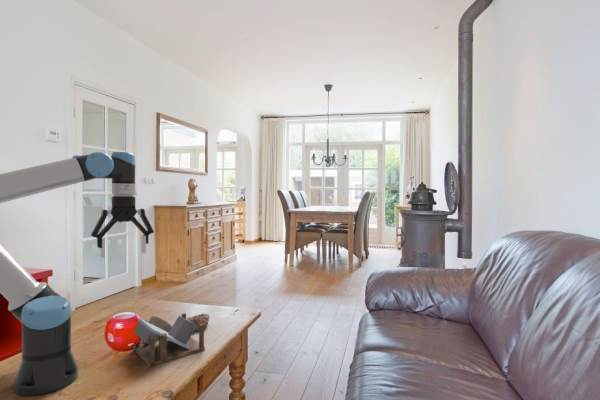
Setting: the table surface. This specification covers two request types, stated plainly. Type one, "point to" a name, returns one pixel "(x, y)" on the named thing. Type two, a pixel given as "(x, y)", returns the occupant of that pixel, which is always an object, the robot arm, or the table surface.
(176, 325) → the block
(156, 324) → the stone
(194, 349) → the frame
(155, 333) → the trapdoor
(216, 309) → the table surface
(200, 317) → the mineral specimen
